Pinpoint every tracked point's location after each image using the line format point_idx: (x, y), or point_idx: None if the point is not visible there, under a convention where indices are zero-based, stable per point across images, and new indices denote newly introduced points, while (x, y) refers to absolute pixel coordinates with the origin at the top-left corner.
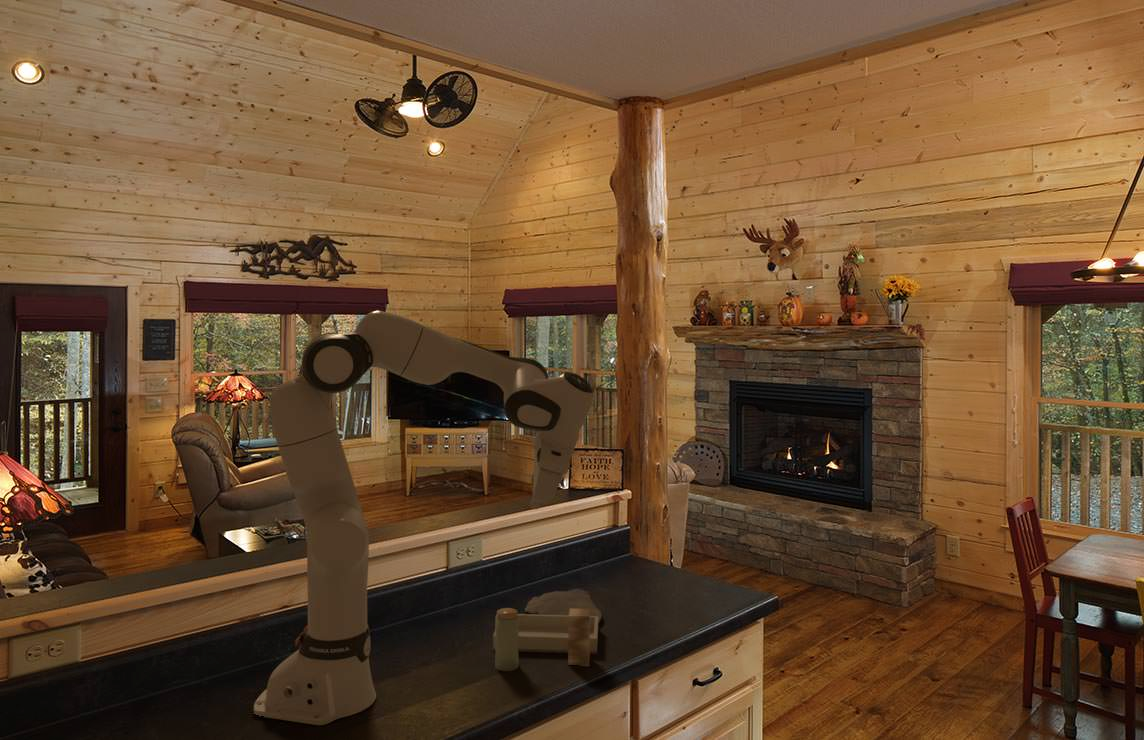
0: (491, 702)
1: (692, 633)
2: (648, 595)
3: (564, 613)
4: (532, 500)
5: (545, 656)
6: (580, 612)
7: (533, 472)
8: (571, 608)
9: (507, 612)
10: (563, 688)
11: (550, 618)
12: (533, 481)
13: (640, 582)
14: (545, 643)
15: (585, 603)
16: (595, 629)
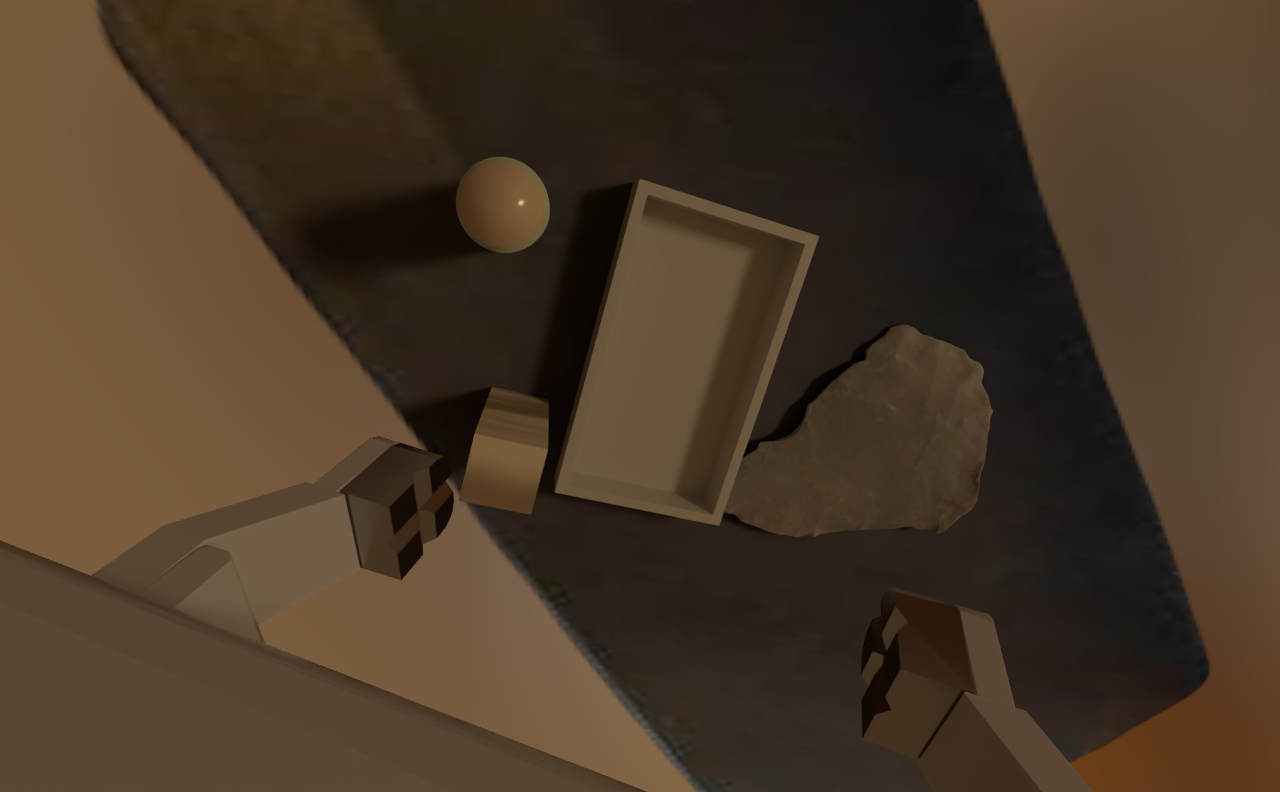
0: (274, 128)
1: (635, 719)
2: None
3: (809, 436)
4: (296, 490)
5: (563, 334)
6: (501, 478)
7: (1006, 724)
8: (545, 454)
9: (492, 205)
10: (349, 349)
11: (753, 387)
12: (253, 673)
13: None
14: (592, 343)
15: (852, 507)
16: (622, 500)
